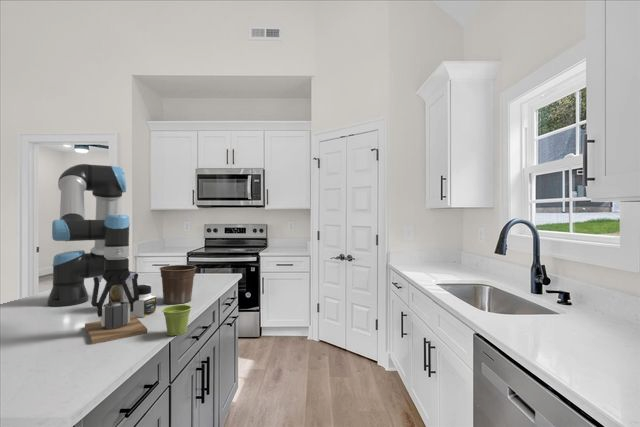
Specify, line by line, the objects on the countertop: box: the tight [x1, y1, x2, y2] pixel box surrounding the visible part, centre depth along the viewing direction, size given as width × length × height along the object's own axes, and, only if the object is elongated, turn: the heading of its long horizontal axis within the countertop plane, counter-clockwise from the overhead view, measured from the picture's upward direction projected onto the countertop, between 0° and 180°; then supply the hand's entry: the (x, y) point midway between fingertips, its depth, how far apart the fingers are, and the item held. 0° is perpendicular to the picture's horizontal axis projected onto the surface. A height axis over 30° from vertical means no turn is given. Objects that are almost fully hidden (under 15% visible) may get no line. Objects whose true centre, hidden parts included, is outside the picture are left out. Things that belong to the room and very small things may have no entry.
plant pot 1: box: [159, 264, 198, 305], centre depth 161 cm, size 16×16×16 cm
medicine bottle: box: [130, 284, 157, 318], centre depth 139 cm, size 7×7×12 cm
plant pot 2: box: [161, 304, 193, 337], centre depth 118 cm, size 9×9×9 cm
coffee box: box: [108, 270, 137, 303], centre depth 147 cm, size 9×6×16 cm
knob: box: [103, 302, 128, 327], centre depth 120 cm, size 7×8×7 cm
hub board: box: [84, 302, 148, 345], centre depth 120 cm, size 20×16×10 cm
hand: (115, 323), depth 120 cm, fingers closed on knob, 7 cm apart
